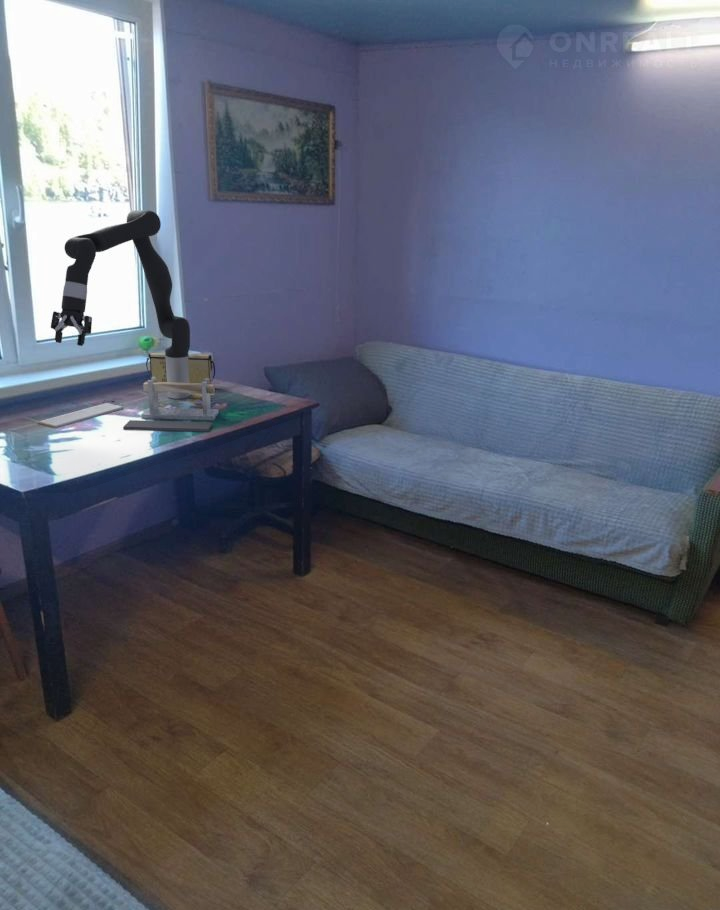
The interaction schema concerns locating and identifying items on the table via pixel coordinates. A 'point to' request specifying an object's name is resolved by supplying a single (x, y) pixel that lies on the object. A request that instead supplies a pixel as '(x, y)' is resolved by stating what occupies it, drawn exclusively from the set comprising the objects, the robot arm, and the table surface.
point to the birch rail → (179, 387)
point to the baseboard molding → (80, 415)
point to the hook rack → (179, 413)
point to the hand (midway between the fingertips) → (69, 344)
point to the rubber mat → (168, 425)
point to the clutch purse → (197, 367)
